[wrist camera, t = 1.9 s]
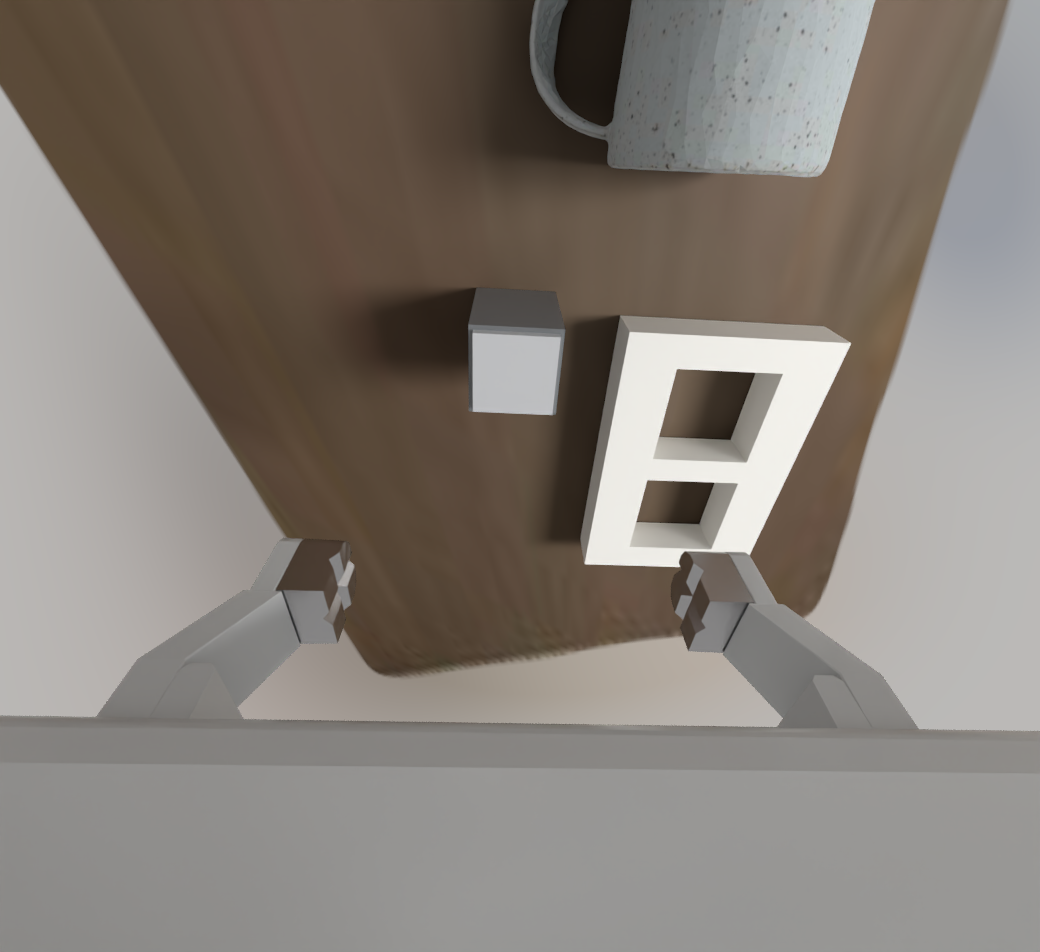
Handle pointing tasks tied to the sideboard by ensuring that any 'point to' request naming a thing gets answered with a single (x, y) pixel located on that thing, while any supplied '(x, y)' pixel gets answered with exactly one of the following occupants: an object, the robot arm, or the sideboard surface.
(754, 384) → the outlet plate
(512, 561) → the sideboard surface
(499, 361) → the plug
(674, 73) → the ceramic mug
